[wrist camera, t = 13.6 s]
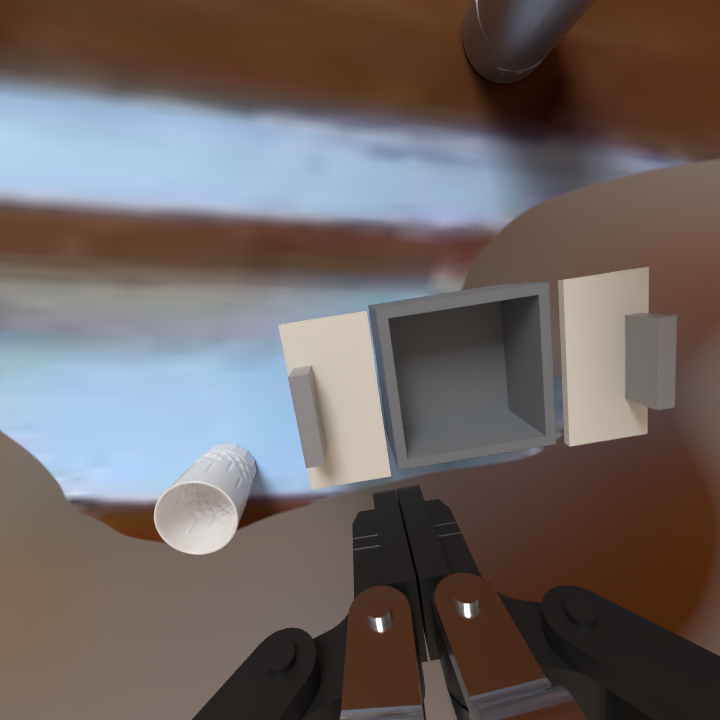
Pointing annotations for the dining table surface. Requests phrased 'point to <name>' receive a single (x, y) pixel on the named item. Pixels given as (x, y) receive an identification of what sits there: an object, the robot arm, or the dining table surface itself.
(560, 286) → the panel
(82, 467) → the dining table surface
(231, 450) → the white cup
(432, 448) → the box
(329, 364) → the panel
